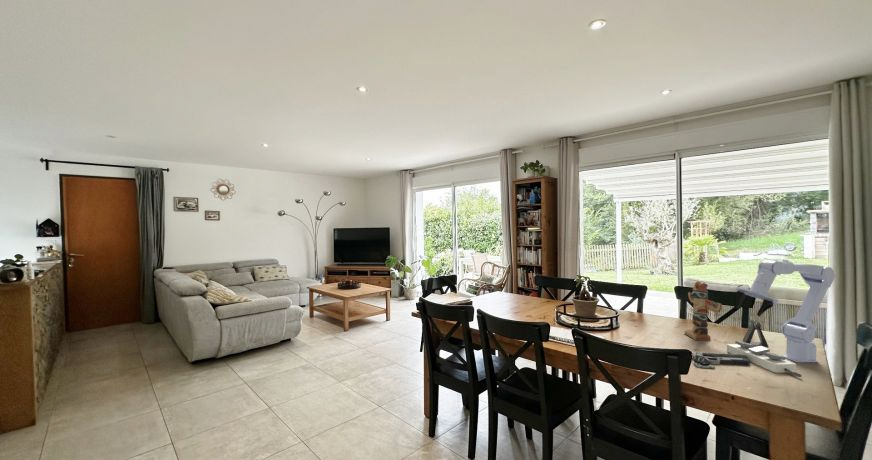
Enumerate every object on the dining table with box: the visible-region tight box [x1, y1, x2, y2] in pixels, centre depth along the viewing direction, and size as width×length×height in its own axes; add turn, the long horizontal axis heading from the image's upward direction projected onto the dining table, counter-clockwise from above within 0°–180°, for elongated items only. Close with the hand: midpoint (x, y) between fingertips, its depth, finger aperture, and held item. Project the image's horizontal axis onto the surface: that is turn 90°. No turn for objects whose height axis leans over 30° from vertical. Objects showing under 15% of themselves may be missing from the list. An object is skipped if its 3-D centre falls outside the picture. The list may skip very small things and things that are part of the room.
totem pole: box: [684, 280, 723, 342], centre depth 194 cm, size 29×7×30 cm, turn 172°
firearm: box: [692, 351, 751, 370], centre depth 160 cm, size 3×24×15 cm
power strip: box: [726, 343, 802, 378], centre depth 159 cm, size 9×30×4 cm, turn 1°
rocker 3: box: [763, 352, 786, 360], centre depth 154 cm, size 6×4×1 cm, turn 92°
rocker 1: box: [734, 340, 756, 348], centre depth 168 cm, size 6×4×1 cm, turn 92°
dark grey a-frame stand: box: [742, 319, 769, 348], centre depth 183 cm, size 9×6×12 cm, turn 59°
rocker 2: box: [748, 346, 771, 354], centre depth 161 cm, size 6×4×1 cm, turn 91°
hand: (747, 311), depth 158 cm, fingers open, 7 cm apart
